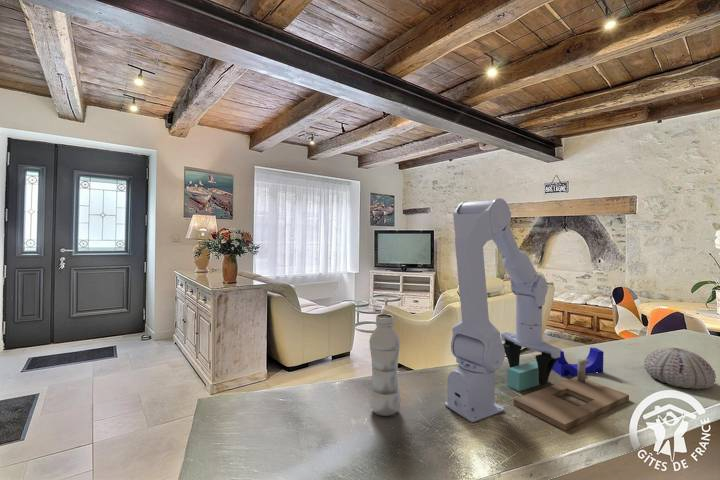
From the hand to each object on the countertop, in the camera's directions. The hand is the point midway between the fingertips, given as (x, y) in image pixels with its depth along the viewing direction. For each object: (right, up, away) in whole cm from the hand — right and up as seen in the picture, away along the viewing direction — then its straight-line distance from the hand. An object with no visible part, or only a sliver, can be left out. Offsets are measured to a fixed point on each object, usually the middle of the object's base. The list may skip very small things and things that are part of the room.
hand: (528, 377), depth 84 cm
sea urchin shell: (+38, -2, +2) cm, 38 cm away
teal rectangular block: (0, -2, 0) cm, 2 cm away
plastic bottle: (-36, -2, -13) cm, 39 cm away
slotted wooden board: (+5, -2, -9) cm, 11 cm away
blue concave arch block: (+17, -2, +7) cm, 18 cm away
